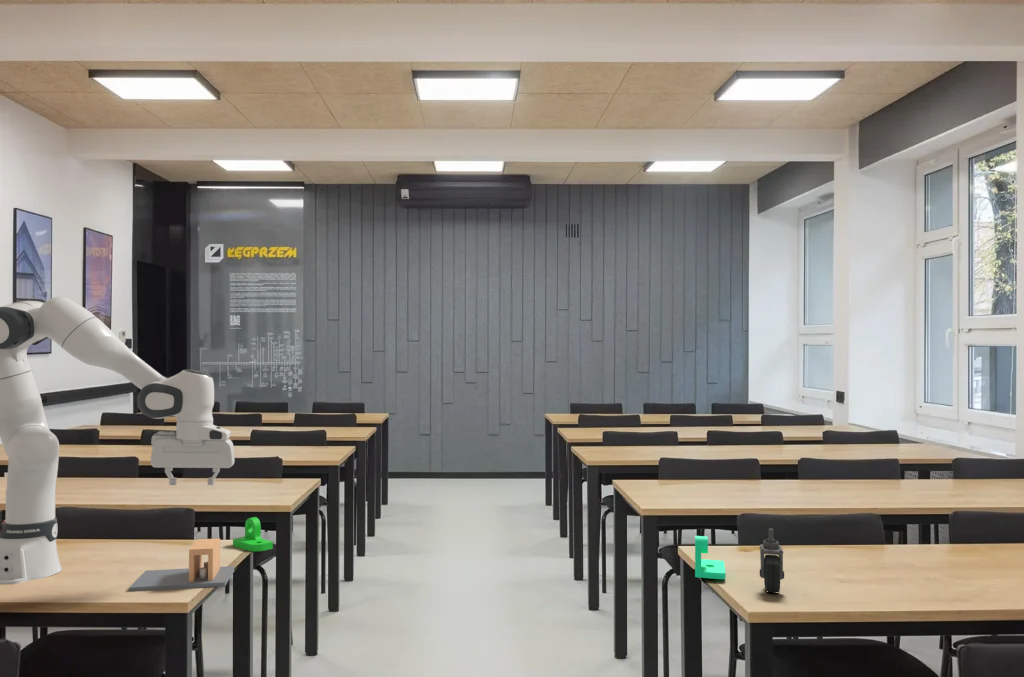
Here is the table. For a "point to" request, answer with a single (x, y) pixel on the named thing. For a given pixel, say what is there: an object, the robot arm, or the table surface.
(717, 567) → the camera mount
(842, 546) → the table surface
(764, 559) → the caster wheel
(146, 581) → the plate
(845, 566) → the table surface
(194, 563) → the arch block
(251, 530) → the mechanical part
